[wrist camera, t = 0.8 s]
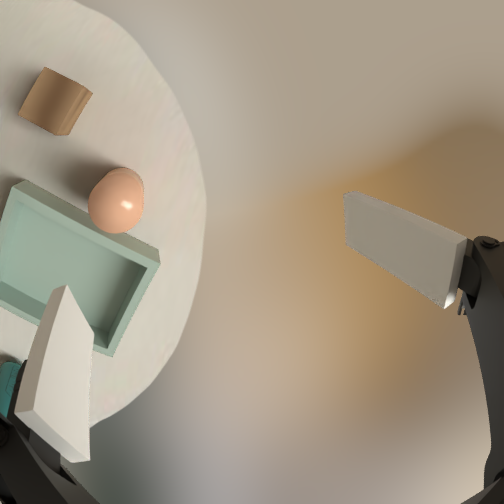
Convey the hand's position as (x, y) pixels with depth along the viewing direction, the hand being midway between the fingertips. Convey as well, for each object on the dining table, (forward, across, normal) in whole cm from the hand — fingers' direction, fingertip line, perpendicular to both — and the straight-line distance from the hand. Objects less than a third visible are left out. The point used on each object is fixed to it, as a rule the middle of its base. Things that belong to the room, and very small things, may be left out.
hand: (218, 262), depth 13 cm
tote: (+21, -15, -6) cm, 26 cm away
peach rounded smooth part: (+21, -5, +1) cm, 22 cm away
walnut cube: (+22, -9, +12) cm, 26 cm away
